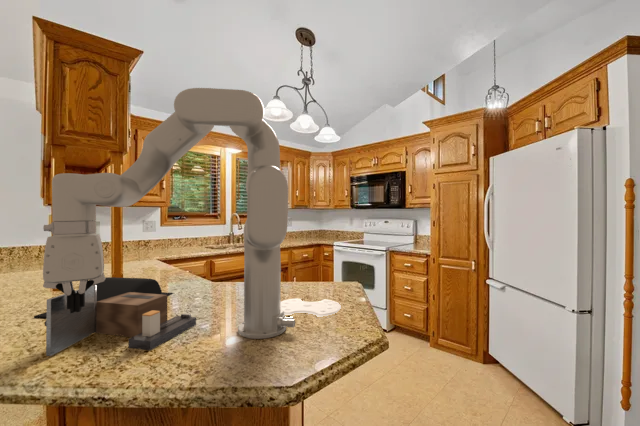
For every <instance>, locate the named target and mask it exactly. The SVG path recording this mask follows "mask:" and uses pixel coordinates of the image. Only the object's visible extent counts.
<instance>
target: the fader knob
mask: <svg viewBox="0 0 640 426" xmlns="http://www.w3.org/2000/svg"><path fill="white" fill-rule="evenodd" d="M159 332H160V311H155V310H152V311H149V312H147V313H144V314H142V336H148V337H151V336H153V335H155V334H157V333H159Z"/></svg>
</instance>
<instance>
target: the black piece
mask: <svg viewBox="0 0 640 426" xmlns="http://www.w3.org/2000/svg"><path fill="white" fill-rule="evenodd" d="M94 285H97V301H101V300H104V299H107V298H111V297H114V296H118V295H121V294H125V293H128V292H135V293H149V294H162V295H167V297H170V296H171V295H173V294H174V293H173V292H162V288H161V285H160V284H159V282H158V280H156V279H154V278H147V277H146V278H141V277H140V278H139V277H116V276H115V277H113V276H112V277H111V276H109V277H108V276H107V277H106V276H105V281H103V282H100V283H97V284H94ZM33 318H34V319H44V320H46V319H47V311H45V312H43V313H40V314H36V315H34V316H33Z"/></svg>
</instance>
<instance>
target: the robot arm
mask: <svg viewBox="0 0 640 426" xmlns="http://www.w3.org/2000/svg"><path fill="white" fill-rule="evenodd" d="M264 107H265V106H264V104H263V101H262V100H261V99H260V97H259V96H258V95H257V94H255V93H253V92H250V91H248V90H243V89H232V88H214V87H213V88H211V87H193V88H192V87H191V88H187V89H184V90H181V91H180V92H179V93H178V94H177V95H176V96H175V99H174V101H173V108H174V112H173V113H172V114H171V115H169V116H168V117H167V118H166V119H164V120H163V121H162V122H161V123H160V124H158V126H156V127H155V128H154V129H153V130H151V131H150V132H148V134H146V136H145V138H144V140H143V142H142V143H143V144H142V149H141V152H140V155H139V156H138V158H137V159H136V161H135V162H134V163H132V165H130V167H128V168H127V169H126V170H125V171H124V172H122V173H121V174H117V173H114V172H100V173H99V172H98V173H89V174H81V173H69V172H68V173H58V174H55V175H53V176H52V181H51V188H52V189H51V192H52V193H51V197H52V198H51V204H52V206H51V207H52V208H51V209H52V210H51V212H52V214H51V215H52V221H51V223H50V224H49V223H48V224H44V225H43V228H42V229H43V231H44V232H50V233H51V235H52V236H51V235H50V236H47V238H46V242H45V248H44V254H43V264H42V265H43V267H42V278H43V284H42V285H43V288H44V289H55V290H58V291H60V292H62V293H63V294H65V295H67V309H70V313H74V312H80V311H81V309H82V307H84V306H85V291H86V290H87V289H89V288H90V287H91V286H92V285H94V284H97V283H100V282H103V281H105V278H106V276H105V272H104V271H105V270H104V269H105V260H104V249H103V243H102V239H101V235H100V234H97V206H101V207H102V206H104V207H113V208H114V207H117V208H127V207H130V206H133V205H134V204H136V203H138V202H139V201H140V200H141V199H143V197H145V196H146V195H147V194H148V193H149V192H150V191H151V190H153V189H154V188H155V187H156V186H157V185H158V184H159V182H161V181H162V179H164V177H165V176H166V175H167V174H168V172H170V170H172V168H173V166H175V164H176V163H177V162H178V161H179V160H180V159H181V158H182V157H183V156H184V155H185V154H187V153H188V152H189V151H190V150H191V149H193V148H194V146H196V145H197V144H198V143H199V142H201V141H202V140H203V139H204V138H205V137H206V136H208V135H209V133H210V132H211V131H212V130H213V129H214V127H215V126H216V127H217V126H218V127H219V126H220V127H221V126H222V127H223V126H224V127H229V128H230V130H231V131H232V132H233V134H235V135H236V136H237V137H238V138H240V139H241V140H242V141H244V142H245V144H246V145H245V146H246V148H247V175H246V176H247V178H246V184H245V190H246V194H247V206H246V207H247V209H246V211H247V212H246V220H245V223H244V227H243V246H244V247H243V249H244V250H243V252H244V254H243V255H244V257H243V258H244V262H243V263H244V265H243V266H244V269H243V270H244V271H243V272H244V274H243V278H244V279H243V282H244V283H243V289H244V290H243V321H242V322H241V323H239V325H238V326H237V333H238V334H239V335H240V336H242V337H244V338H247V339H252V340H253V339H258V340H261V339H268V338H274V337H277V336H279V335H282V334H283V333H284V332H285V331H286V330H287V328H295V326H296V320H295V318H294V317H293V316H290V317H286V316H285V315H284V311H282V310H281V301H282V299H281V295H282V294H281V290H282V289H281V276H282V275H281V273H282V263H281V261H282V258H281V244H282V243H283V242H284V241H285V239H286V236H287V232H288V223H289V222H288V221H289V220H288V216H289V215H288V213H289V212H288V211H289V186H288V180H287V177H286V175H285V174H284V173H283V171H282V170H281V150H280V149H281V148H280V143H279V138H278V136H277V134H276V132H275V131H274V129H273V128H272V127H271V125H269V123H267V122H266V121H265V120H264V117H265V108H264ZM73 282H79V284H78V289H77V290H78V291H77V293H76V292H75V291H76V290H75V289H74V284H73Z"/></svg>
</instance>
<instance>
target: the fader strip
mask: <svg viewBox="0 0 640 426" xmlns="http://www.w3.org/2000/svg"><path fill="white" fill-rule="evenodd" d="M194 325H195V326H196V325H197V317H194V316H192V314H190V313H189V314H188V313H181V314H180V315H176V316H174V317H172V318H170V319H167V321H165V322H163V323H161V324H160V332H159V333H157V334H155V335H153V336H151V337H148V336H142V333H140V334H138V335H136V336H133V337H129V338H128V341H127V343H128V348H129V349H137V350H144V351H152V350H153V349H154V350H155V348H157V347H159V346H160V345H162V344H164V343H167V342H168V341H170V340H171V339H173V338H175V337H176V336H178V334H179V335H180V334H182V333H184V332H186V331H187V330H189V329H191V328H193V327H195V326H194ZM192 326H193V327H192ZM190 327H191V328H190ZM188 328H189V329H188ZM185 330H186V331H185ZM183 331H184V332H183Z"/></svg>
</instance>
